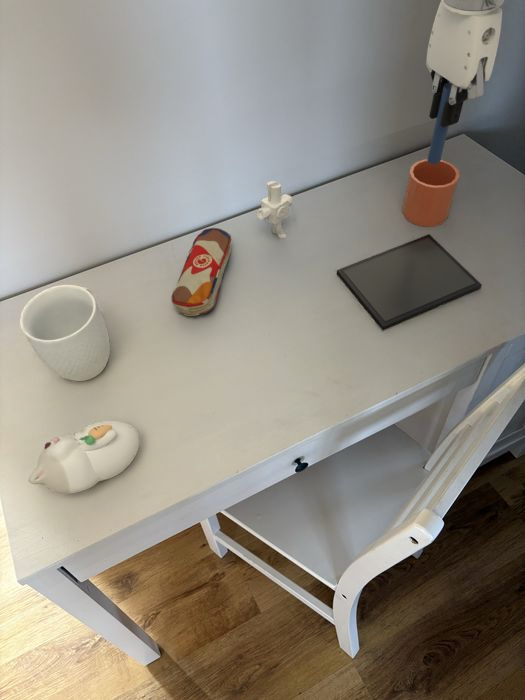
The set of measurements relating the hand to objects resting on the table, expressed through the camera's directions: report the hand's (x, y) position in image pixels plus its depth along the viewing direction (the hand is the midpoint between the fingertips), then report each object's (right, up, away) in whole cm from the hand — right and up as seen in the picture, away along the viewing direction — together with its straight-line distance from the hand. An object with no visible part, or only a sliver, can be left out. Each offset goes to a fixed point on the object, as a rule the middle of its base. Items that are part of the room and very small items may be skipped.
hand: (443, 119), depth 87 cm
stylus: (0, -5, +6) cm, 8 cm away
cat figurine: (-53, -55, -11) cm, 77 cm away
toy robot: (-27, -16, +17) cm, 35 cm away
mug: (-58, -39, +1) cm, 70 cm away
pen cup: (+3, -10, +19) cm, 21 cm away
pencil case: (-40, -25, +11) cm, 48 cm away
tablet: (-4, -25, +8) cm, 27 cm away
